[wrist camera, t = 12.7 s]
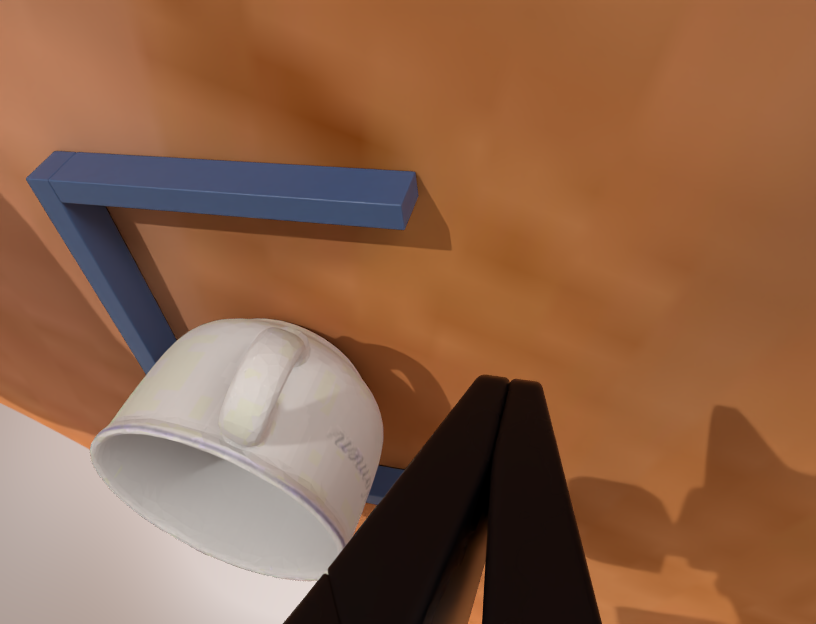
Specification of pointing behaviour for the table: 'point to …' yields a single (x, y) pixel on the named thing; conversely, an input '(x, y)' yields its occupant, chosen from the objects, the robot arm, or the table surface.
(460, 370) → the table surface
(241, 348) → the teacup
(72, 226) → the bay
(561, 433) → the table surface
